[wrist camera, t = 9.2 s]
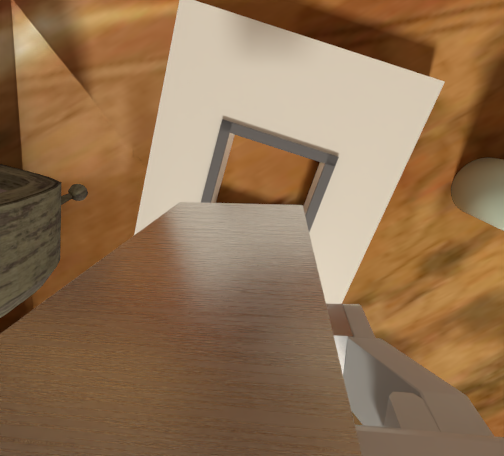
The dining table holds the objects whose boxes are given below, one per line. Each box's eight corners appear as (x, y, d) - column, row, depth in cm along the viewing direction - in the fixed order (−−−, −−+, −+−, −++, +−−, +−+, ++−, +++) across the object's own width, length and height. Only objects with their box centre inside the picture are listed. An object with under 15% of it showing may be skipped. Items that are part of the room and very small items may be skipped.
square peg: (296, 314, 14) (333, 850, 4) (186, 308, 15) (-59, 771, 4) (302, 205, 13) (395, 596, 2) (179, 201, 13) (-242, 511, 3)
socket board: (320, 324, 33) (323, 344, 30) (139, 266, 33) (124, 280, 30) (426, 86, 26) (446, 81, 23) (192, 10, 26) (179, -7, 22)
